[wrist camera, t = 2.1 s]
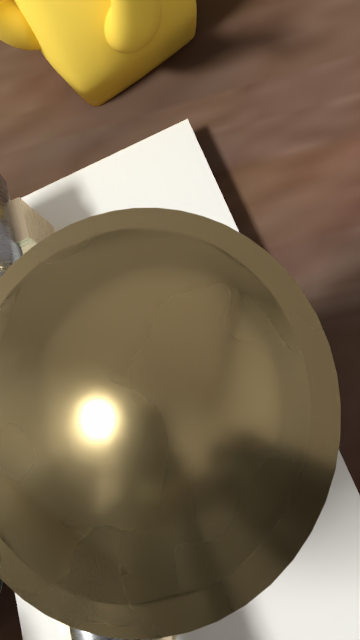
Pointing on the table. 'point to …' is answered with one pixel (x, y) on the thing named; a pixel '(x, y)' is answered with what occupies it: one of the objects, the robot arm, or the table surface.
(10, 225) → the shafts
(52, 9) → the teapot
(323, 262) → the table surface
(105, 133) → the table surface
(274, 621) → the board
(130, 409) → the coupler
